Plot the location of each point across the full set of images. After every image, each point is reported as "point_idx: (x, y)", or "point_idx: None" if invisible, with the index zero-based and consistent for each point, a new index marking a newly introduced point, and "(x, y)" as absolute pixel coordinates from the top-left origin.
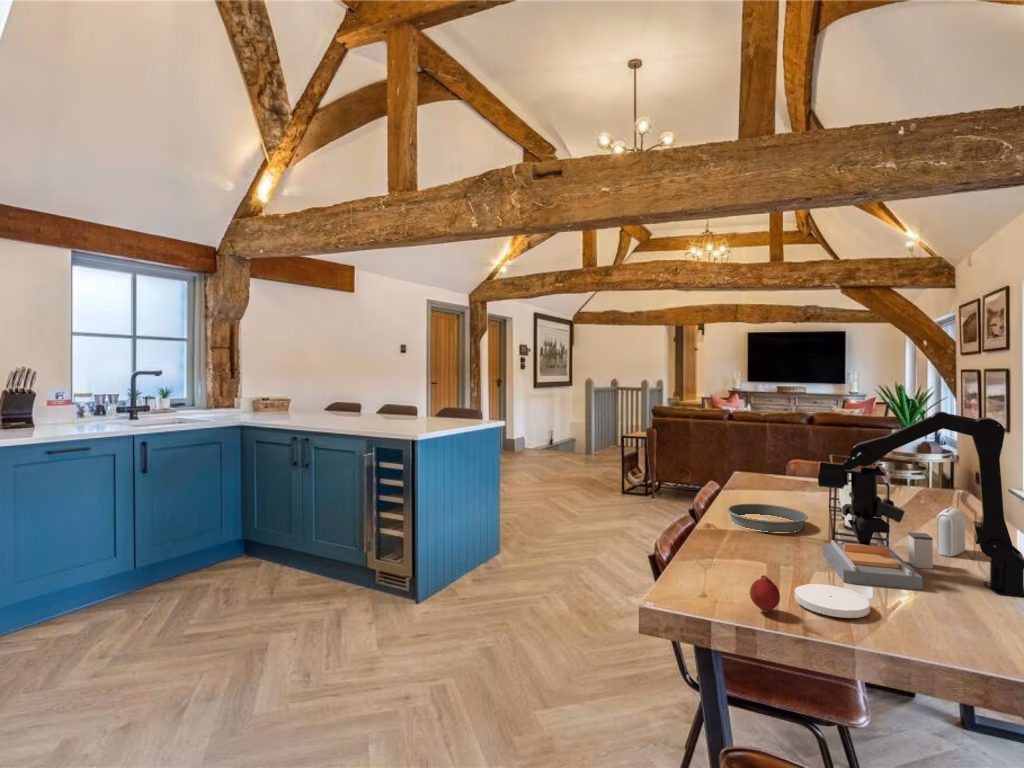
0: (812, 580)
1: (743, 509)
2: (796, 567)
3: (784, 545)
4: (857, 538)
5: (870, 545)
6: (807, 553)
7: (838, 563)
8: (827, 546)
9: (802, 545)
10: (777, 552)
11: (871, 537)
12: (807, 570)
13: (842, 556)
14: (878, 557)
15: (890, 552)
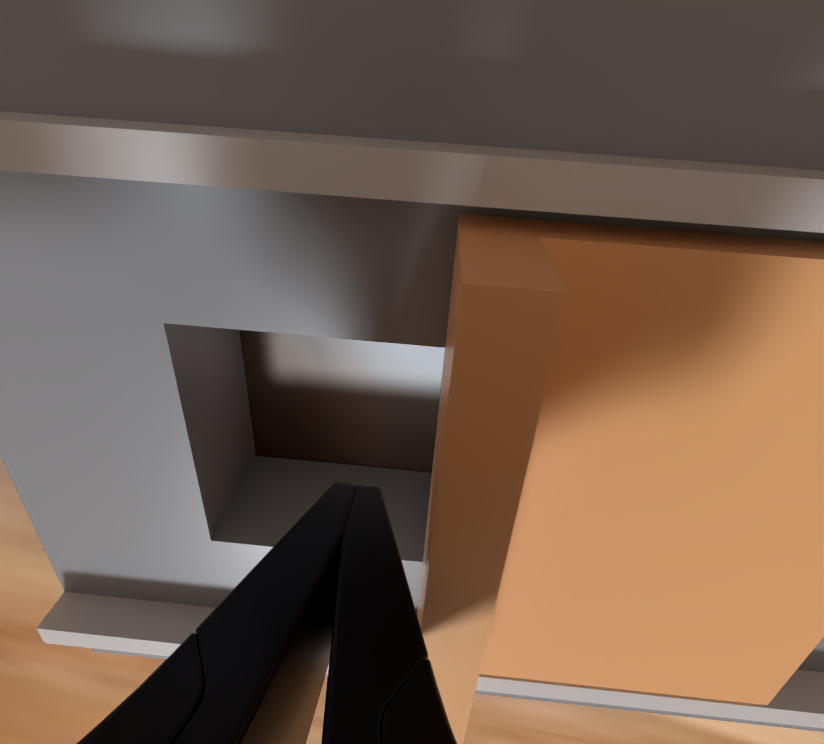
0: (746, 734)
1: None
2: (516, 734)
3: (78, 685)
4: (309, 726)
5: (462, 568)
6: None
7: (701, 717)
8: None
9: (4, 612)
10: None
11: (444, 723)
12: (565, 711)
13: None
14: (685, 454)
15: (78, 17)
